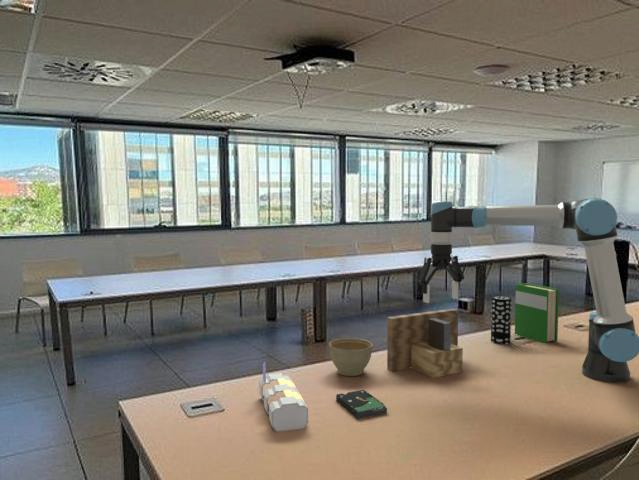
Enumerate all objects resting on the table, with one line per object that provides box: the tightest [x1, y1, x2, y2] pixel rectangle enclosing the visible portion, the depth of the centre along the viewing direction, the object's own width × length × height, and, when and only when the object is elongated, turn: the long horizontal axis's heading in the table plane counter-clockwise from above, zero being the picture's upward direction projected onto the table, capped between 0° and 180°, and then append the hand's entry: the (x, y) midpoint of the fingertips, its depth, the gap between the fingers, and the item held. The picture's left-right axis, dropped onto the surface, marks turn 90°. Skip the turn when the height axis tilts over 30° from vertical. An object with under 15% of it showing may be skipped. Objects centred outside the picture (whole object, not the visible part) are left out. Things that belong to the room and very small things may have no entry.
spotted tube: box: [490, 295, 512, 345], centre depth 221 cm, size 8×8×20 cm
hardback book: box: [514, 282, 560, 345], centre depth 227 cm, size 18×7×24 cm, turn 25°
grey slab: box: [428, 318, 451, 351], centre depth 184 cm, size 3×9×16 cm, turn 27°
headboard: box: [386, 308, 464, 379], centre depth 186 cm, size 32×16×20 cm, turn 117°
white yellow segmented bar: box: [258, 361, 309, 432], centre depth 149 cm, size 25×10×13 cm, turn 15°
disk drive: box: [335, 389, 388, 420], centre depth 153 cm, size 10×3×15 cm
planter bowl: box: [328, 337, 373, 377], centre depth 183 cm, size 16×16×11 cm
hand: (440, 300), depth 182 cm, fingers open, 13 cm apart
